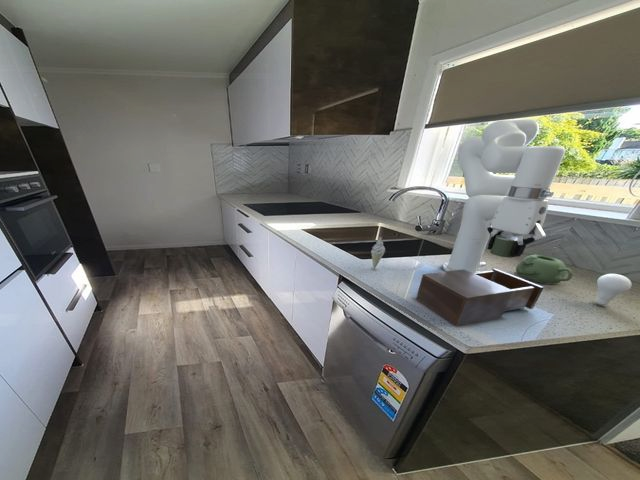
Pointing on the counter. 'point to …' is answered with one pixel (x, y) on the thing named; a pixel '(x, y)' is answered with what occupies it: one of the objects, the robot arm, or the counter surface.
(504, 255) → the tin
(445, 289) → the wooden box
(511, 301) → the drawer
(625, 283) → the lightbulb
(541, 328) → the counter surface
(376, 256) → the ice cream cone
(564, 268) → the green rounded ceramic pot
